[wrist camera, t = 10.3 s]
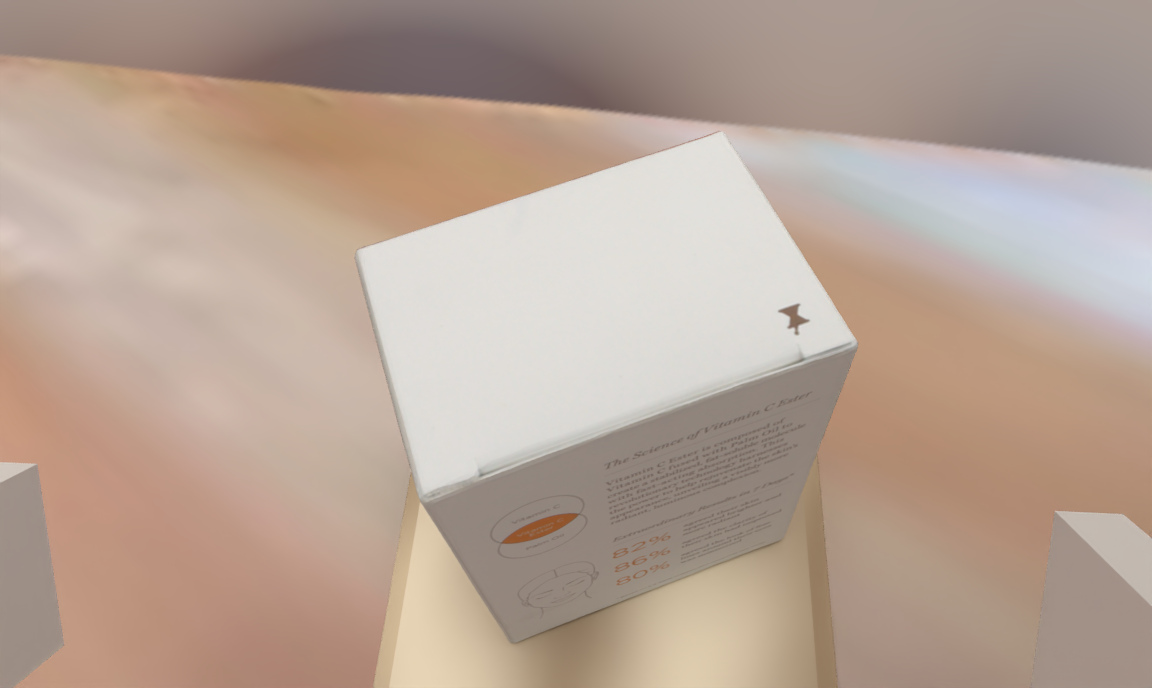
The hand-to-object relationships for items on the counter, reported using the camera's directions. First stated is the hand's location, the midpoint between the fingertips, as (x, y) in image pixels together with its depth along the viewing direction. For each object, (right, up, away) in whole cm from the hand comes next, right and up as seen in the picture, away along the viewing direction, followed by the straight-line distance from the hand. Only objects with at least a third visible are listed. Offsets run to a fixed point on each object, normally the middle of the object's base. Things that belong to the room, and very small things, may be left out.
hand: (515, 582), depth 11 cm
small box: (+2, -2, +13) cm, 14 cm away
